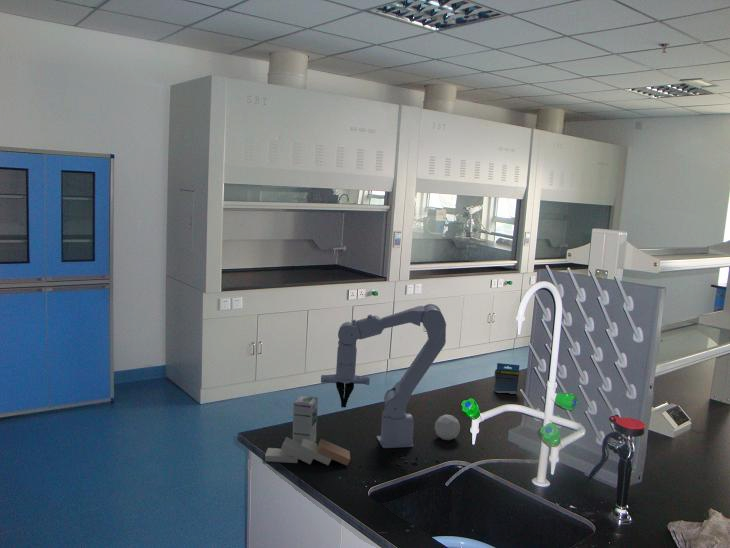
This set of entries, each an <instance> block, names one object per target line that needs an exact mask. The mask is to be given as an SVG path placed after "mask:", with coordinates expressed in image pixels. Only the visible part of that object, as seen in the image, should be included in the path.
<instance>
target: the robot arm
mask: <svg viewBox="0 0 730 548" xmlns="http://www.w3.org/2000/svg"><path fill="white" fill-rule="evenodd" d="M421 323H422V326H423V327H424V330H426V333H427V334H426V335H427V340H426V342H425V343H424V345H423V346H422V347H421V349H420V350H419V352H418V353H417V355H416V356H415V358H414V359H413V361H412V362H411V364H410V365H409V367H408V369H407V370H406V371H405V373H404V374H403V376H402V377H401V378H400V380H399V381H398V382H396V383H395V385H394V386H393V387H392V388H391V389H388V390H387V391H386V393H385V394H384V397H383V398H384V399H383V400H384V409H383V410H382V412H381V425H380V426H381V427H380V428H381V429H380V435H376V439H377V440H378V443H379V445H380V446H381V447H382V448H383V449H392V448H393V449H397V448H414V444H413V443H414V442H413V441H414V432H415V431H414V430H415V423H414V417H413V415H412V413H407V412H406V410H407V405H408V403H409V401H410V399H411V397H412V394H413V393H414V391H415V390H416V388H417V386H418V385H419V383H420V381H421V380H422V379H423V377H424V376H425V374H426V373H427V371H428V370H429V369H430V367H431V366H432V364H433V363H434V361H435V360H436V358H437V357H438V356H439V354H440V353H441V351H442V350H443V348H444V347H445V345H446V339H447V338H446V336H447V334H446V333H447V329H446V328H447V322H446V320H445V317H444V315H443V313H442V310H441V309H440V307H439V306H438V305H436V304H434V303H428V304H426V305H417V306H414V307H411V308H407V309H405V310H403V311H399V312H396V313H393V314H390V315H386V316H384V317H380V316H378V315H372V314H368V315H367V317H365V318H362V319H359V320H358V319H357V320H356V319H352V320H351V322H350V321H346V322H344V323H341V325H340V327H339V328H338V332H337V337H338V341H337V342H338V343H337V344H338V347H337V352H336V353H337V355H336V366H335V367H336V369H335V373H334V374H321V376H320V383H321V384H327V383H329V384H330V383H331V384H335V385H336V386H335V387H336V390H337V392H338V395H339V398H340V407H341V408H347V404H348V401H349V398H350V396H351V394H352V393H353V391H354V390H355V389H354V388H355V385H365V386H369V385H370V381H371V380H370V376H365V375H364V376H363V375H357V374H356V368H357V367H356V365H357V352H358V351H357V350H358V349H357V340H364V339H367V338H371V337H376V336H378V335H381V334H382V333H383V331H384V330H385V329H388V328H389V329H390V328H393V327H397V326H401V325H406V324H413V325H415V326H418V327H421Z"/></svg>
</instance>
